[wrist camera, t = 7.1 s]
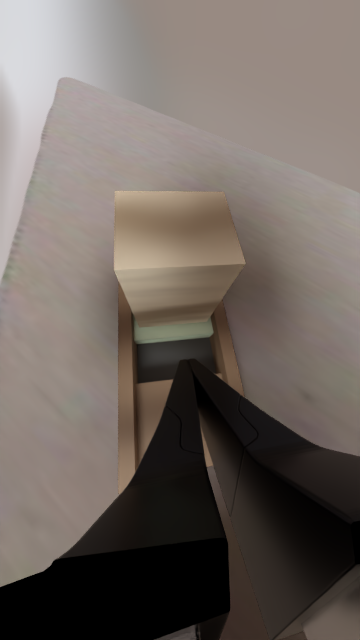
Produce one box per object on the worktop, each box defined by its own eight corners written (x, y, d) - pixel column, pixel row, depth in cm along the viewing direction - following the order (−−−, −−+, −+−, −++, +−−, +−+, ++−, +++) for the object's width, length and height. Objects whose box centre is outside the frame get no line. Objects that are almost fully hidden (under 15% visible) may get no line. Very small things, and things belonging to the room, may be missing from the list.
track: (240, 448, 14) (260, 465, 11) (128, 469, 13) (118, 494, 10) (201, 257, 21) (207, 236, 18) (125, 260, 20) (118, 238, 17)
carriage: (206, 321, 16) (245, 263, 8) (139, 327, 15) (113, 270, 7) (198, 275, 17) (223, 191, 10) (137, 278, 16) (114, 191, 9)
